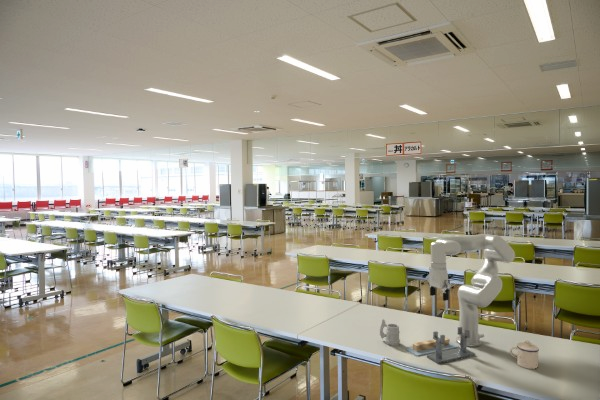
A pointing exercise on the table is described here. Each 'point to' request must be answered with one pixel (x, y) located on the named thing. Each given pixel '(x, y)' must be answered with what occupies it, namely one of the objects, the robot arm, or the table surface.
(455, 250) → the robot arm
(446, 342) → the oak rail
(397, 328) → the mug
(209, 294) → the table surface
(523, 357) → the teacup with lid
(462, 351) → the stand
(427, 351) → the slate mat
